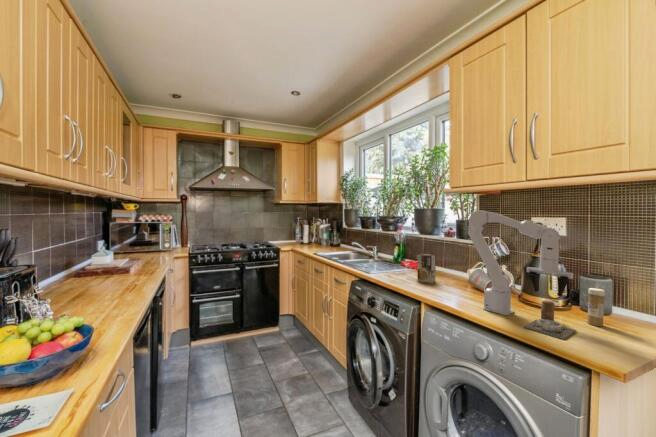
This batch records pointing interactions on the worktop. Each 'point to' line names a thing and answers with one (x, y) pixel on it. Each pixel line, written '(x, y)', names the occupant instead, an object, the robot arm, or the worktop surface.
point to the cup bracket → (550, 328)
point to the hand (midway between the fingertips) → (548, 293)
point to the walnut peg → (547, 310)
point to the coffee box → (426, 268)
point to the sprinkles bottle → (596, 306)
